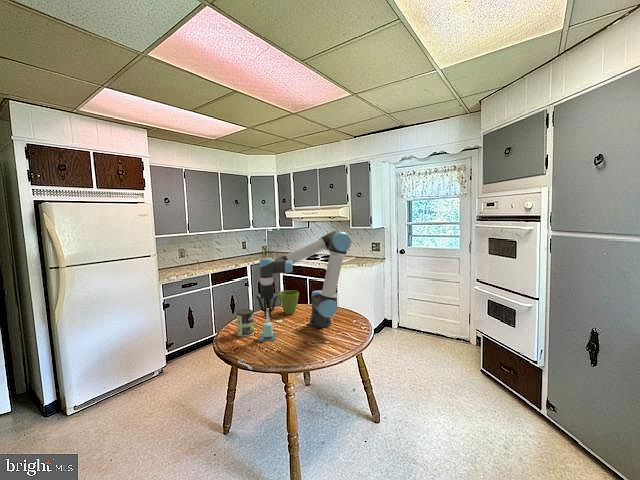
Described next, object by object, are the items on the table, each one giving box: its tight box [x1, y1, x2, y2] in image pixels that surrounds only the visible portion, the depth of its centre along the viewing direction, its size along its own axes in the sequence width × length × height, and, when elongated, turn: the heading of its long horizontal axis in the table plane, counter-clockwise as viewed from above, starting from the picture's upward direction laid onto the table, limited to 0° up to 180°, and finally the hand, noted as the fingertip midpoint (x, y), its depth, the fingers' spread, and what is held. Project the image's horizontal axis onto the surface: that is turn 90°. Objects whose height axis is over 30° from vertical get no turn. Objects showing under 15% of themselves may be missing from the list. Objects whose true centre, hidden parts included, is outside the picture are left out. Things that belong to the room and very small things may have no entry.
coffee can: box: [235, 308, 255, 337], centre depth 188 cm, size 10×10×14 cm
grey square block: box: [257, 332, 278, 342], centre depth 182 cm, size 10×10×8 cm
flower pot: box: [278, 289, 300, 315], centre depth 228 cm, size 15×15×16 cm
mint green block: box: [262, 322, 274, 337], centre depth 181 cm, size 5×5×7 cm
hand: (268, 322), depth 181 cm, fingers closed
